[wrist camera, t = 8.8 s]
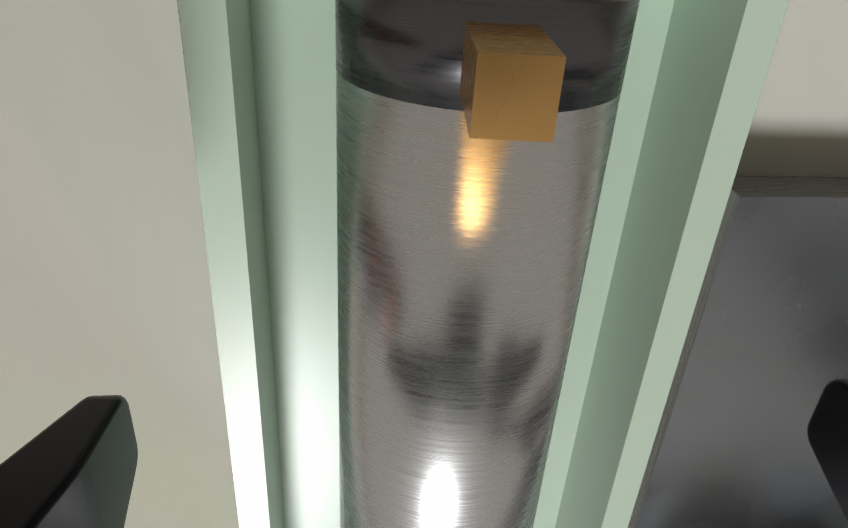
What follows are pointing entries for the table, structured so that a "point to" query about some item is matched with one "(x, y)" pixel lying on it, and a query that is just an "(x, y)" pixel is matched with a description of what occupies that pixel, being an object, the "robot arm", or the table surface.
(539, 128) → the silver oval rod
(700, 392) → the bracket
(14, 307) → the table surface
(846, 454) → the robot arm
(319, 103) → the tray
